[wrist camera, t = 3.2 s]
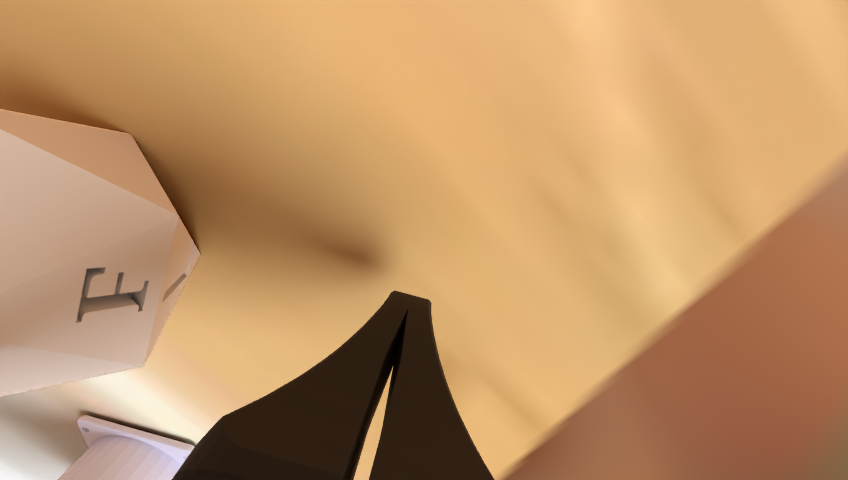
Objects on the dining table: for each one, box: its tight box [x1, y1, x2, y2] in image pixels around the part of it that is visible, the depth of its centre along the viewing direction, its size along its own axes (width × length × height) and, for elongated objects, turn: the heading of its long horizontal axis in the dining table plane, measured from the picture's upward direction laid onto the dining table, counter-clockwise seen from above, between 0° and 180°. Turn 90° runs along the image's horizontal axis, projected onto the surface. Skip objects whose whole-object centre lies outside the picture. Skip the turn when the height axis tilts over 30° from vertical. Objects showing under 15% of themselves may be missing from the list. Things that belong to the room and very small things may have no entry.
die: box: [0, 109, 200, 397], centre depth 11 cm, size 8×9×10 cm
